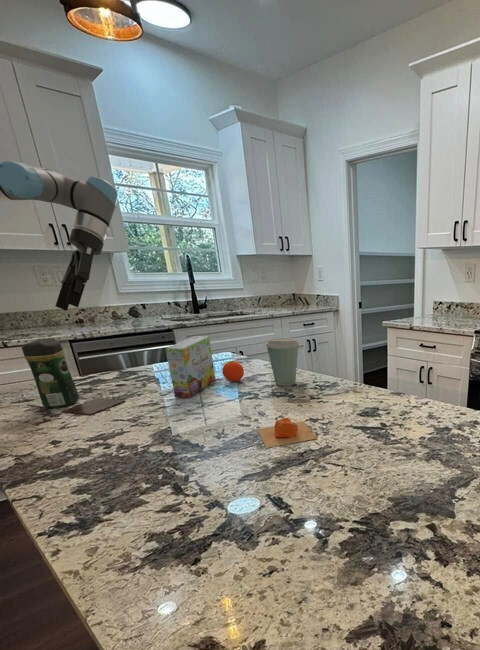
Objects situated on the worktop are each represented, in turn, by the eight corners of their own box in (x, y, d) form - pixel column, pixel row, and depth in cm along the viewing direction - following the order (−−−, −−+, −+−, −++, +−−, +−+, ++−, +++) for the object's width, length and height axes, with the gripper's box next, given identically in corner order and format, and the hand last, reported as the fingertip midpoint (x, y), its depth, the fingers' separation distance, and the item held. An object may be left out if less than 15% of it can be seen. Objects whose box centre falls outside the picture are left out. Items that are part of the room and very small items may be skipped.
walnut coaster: (61, 412, 116) (61, 410, 116) (98, 399, 126) (98, 397, 126) (90, 415, 114) (90, 413, 113) (125, 401, 124) (125, 400, 124)
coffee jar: (54, 399, 126) (32, 337, 118) (83, 397, 128) (63, 335, 120) (38, 410, 118) (13, 343, 110) (70, 407, 119) (47, 342, 111)
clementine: (217, 382, 142) (213, 361, 139) (231, 377, 148) (228, 357, 145) (235, 385, 139) (232, 364, 136) (249, 379, 145) (246, 359, 142)
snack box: (192, 398, 127) (182, 348, 120) (174, 398, 127) (163, 348, 120) (217, 379, 146) (209, 335, 139) (201, 379, 146) (192, 335, 139)
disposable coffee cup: (274, 378, 146) (269, 335, 139) (305, 378, 145) (301, 335, 139) (266, 387, 136) (260, 341, 130) (299, 387, 136) (295, 341, 129)
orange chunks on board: (304, 421, 108) (302, 406, 107) (317, 438, 98) (316, 422, 96) (256, 429, 104) (254, 413, 102) (266, 447, 94) (263, 430, 92)
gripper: (116, 234, 111) (93, 309, 110) (92, 250, 128) (72, 315, 127) (84, 217, 106) (59, 296, 105) (63, 235, 122) (41, 303, 121)
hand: (66, 306), depth 116 cm, fingers open, 13 cm apart
